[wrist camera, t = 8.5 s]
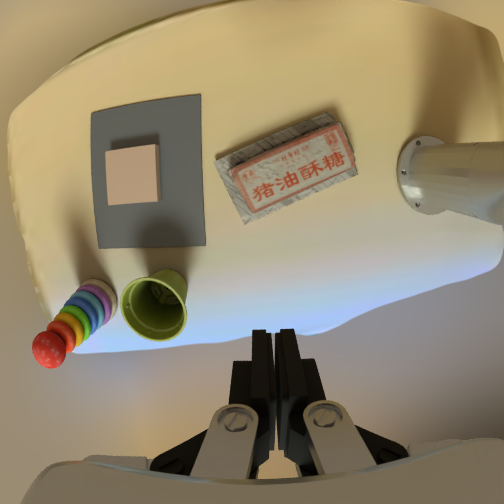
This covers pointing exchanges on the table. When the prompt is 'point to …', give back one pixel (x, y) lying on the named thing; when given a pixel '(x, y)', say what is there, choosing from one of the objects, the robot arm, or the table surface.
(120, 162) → the tile
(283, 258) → the table surface
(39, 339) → the stacking toy
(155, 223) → the mat
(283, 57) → the table surface
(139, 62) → the table surface
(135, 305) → the plant pot
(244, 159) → the packaged product
